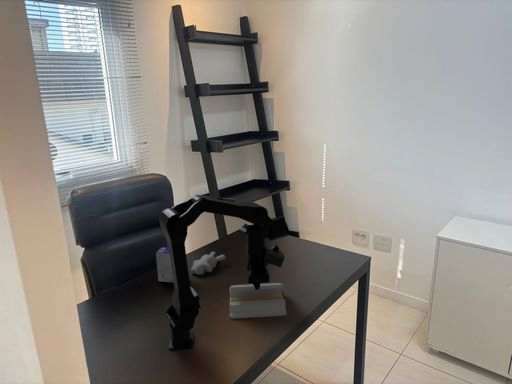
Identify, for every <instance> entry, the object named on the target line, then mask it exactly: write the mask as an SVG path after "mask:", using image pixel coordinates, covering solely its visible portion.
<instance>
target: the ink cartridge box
mask: <svg viewBox="0 0 512 384" xmlns="http://www.w3.org/2000/svg"><path fill="white" fill-rule="evenodd" d="M155 256H156V266H157V267H156V268H157V269H156V270H157V280H158V282H160V283H161V282H162V283H163V282H165V283H173V284H174V280H173V273H172V267H171V260H170V253H169V246H168V242H166V247H161V248H159V249H158V250H157V251H156V252H155Z"/></svg>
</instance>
